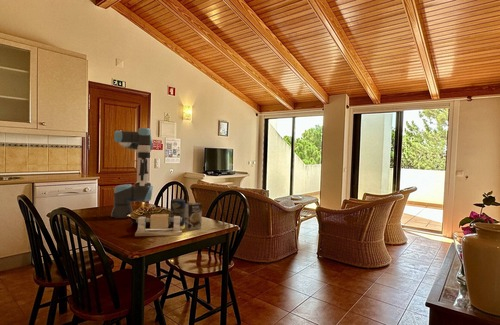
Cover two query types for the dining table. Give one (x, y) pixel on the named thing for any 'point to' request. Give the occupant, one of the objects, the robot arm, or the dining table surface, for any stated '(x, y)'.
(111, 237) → the dining table surface
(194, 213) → the coffee box
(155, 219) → the block
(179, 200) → the canister
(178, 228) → the shaft rig
